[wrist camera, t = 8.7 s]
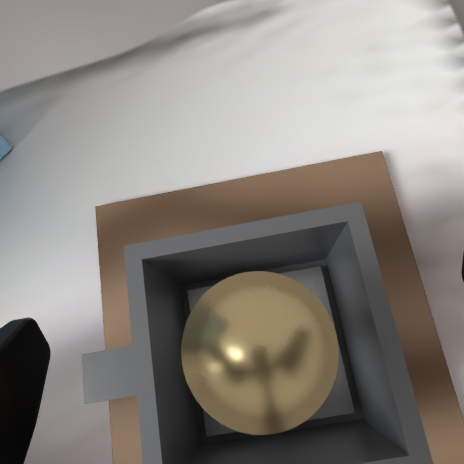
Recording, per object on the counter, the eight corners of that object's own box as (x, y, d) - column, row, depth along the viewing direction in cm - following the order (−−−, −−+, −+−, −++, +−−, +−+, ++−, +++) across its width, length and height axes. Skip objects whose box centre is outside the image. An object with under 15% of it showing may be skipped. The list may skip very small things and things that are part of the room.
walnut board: (509, 590, 16) (517, 598, 16) (131, 641, 17) (126, 651, 17) (379, 156, 22) (381, 151, 22) (99, 210, 23) (95, 206, 22)
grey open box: (376, 427, 18) (436, 476, 11) (151, 463, 19) (81, 529, 12) (332, 249, 20) (361, 201, 14) (134, 285, 21) (69, 256, 14)
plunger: (352, 410, 17) (442, 484, 8) (208, 434, 18) (135, 530, 8) (319, 268, 19) (362, 194, 10) (189, 291, 20) (112, 241, 10)
